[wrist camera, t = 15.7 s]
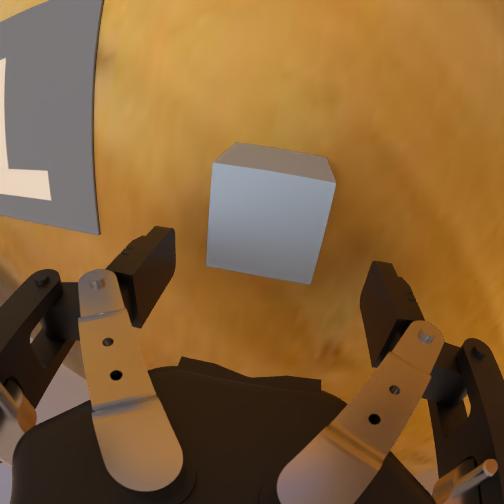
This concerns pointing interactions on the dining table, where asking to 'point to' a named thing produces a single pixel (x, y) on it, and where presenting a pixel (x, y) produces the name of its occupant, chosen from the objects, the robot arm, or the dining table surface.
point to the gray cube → (268, 211)
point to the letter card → (49, 114)
